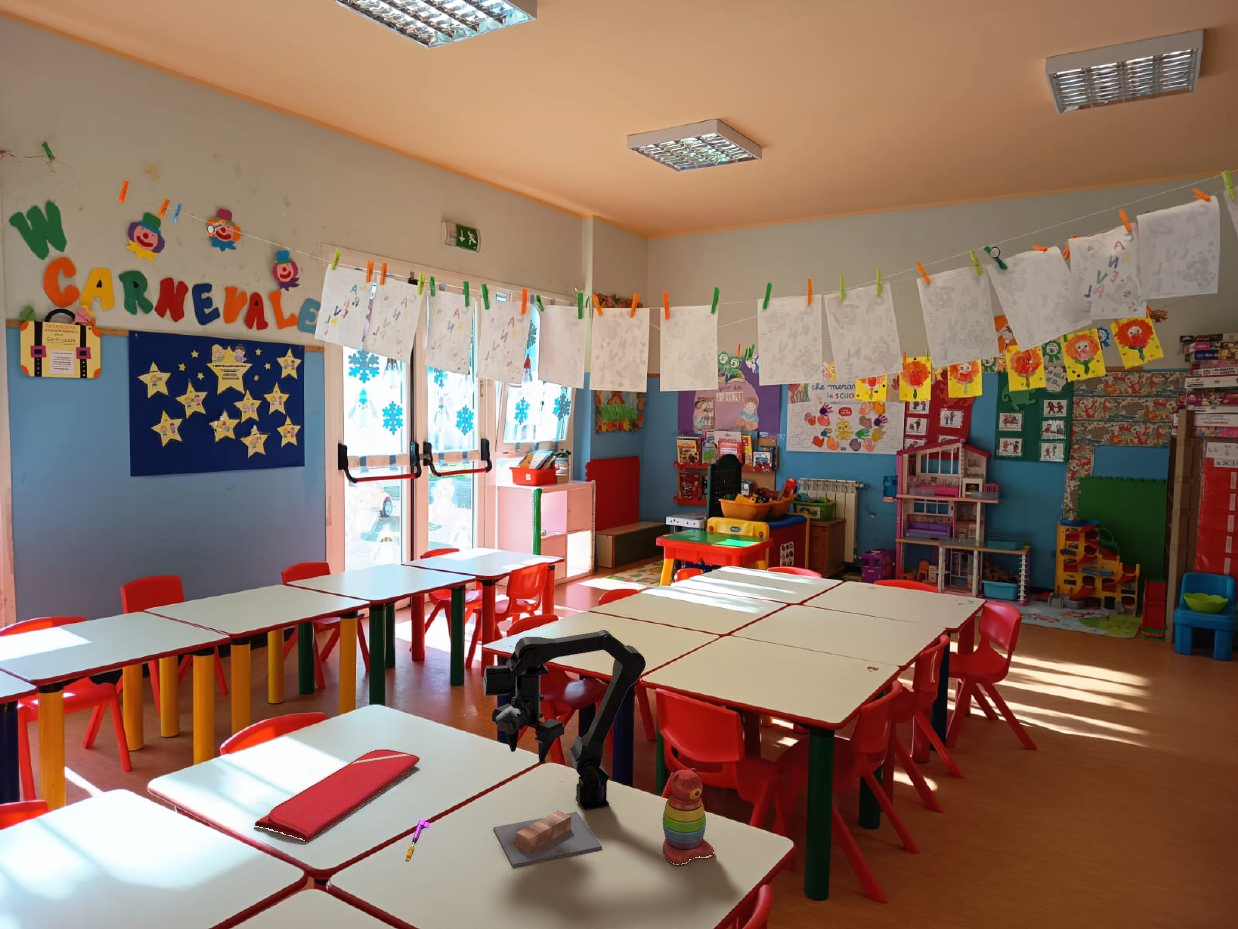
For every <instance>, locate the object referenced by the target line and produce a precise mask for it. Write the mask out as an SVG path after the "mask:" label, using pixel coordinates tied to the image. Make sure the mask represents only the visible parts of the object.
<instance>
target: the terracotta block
mask: <svg viewBox="0 0 1238 929" xmlns="http://www.w3.org/2000/svg"><path fill="white" fill-rule="evenodd" d="M542 818H543V819H541V820H539V821H537V822H535V823H533V824H532V825H530V826H528V827H526V828H524V829H522V830H520V831H518V832H516V846H518V847H520V848H521V849H523V850H525V851H527V852H531V851H533V850H535V849H536V848H538V847H540V846H542V845H543V844H545V843H547V842H549V841H551V840H552V839H554V838H556V837H558V836H559V835H561V834H563V833H565V832H566V831H568V830H570V829H571V816H569V815H567V813H564V812H563V811H560V810H556V811H555V812H552V813H550V814H548V815H547V816H545V817H542Z"/></svg>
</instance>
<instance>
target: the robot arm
mask: <svg viewBox="0 0 1238 929" xmlns="http://www.w3.org/2000/svg"><path fill="white" fill-rule="evenodd" d="M599 651H605V652H606V653H607V654H608V655H610V657H612V658H614V661H613V665H612V674H611V680H610V682H609V684H608V687H607V689H606V691H605V693H604V696H603V697H602V700H601V702H600V705H599V706H598V708H597V711H596V712H595V713H596V714H595V715H594V718H593V719H592V722H591V724H590V726H589V728H588V731H587V732H586V734H584V735H583V736H582V737H581V736H579V735H576V737H575V740H574V743H573V745H572V746H571V747H570V749H569V751H570V760H571V763H572V765H573V767H574V769H575V770H576V772H577V774H578V782H577V783H576V788H575V789H576V791H575V793H576V794H575V795H576V796H575V800H576V801H577V803H578V804H579V805H580V806H581V807H582V809H583V810H585V811H587V810H594V809H597V808H603V807H608V806H610V802H609V801H608V800H607V798H608V797H607V796H608V795H607V793H608V787H607V786H608V780H609V778H610V775H609V773H608V771H607V770H606V768H605V767H604V765H603V764H602V761H603V755H604V745H605V741H606V738H607V737H608V734H609V732H610V730H611V728H612V726H613V724H614V721H615V719H616V717H617V715H618V713H619V710H620V708H621V706H622V703H623V701H624V699H625V697H626V694H627V693H628V690H629V689H630V687H632V686H633V685H634V684H636V682H638V680H639V678H640V677H641V675H642V673H644V670H646V666H647V665H646V664H647V662H646V659H645V657H644V655H643V654H642V653H641V652H639V650H638V649H636V647H634V646H633V645H629V644H628V645H627V644H626V645H625V644H624V643H623V642H621V640H619V639H618V638H616V637H614V636H613V634H611V633H610V632H609V631H608V630H606V629H601V630H599V631H593V632H588V633H587V632H586V633H580V634H575V635H567V636H562V637H556V638H552V637H551V638H547V637H542V636H524V637H521V638H519V639H518V641H517V642H516V643H515V646H514V651H513V652H512V653H511V655H510V656H509V658H508V659H507V661H506V662H505V663H506V664H505V665H485V666H484V674H483V677H482V686H483V687H482V689H483V695H484V697H496V696H509V695H510V693H511V694H512V693H513V691H514V689H515V696H512V697H511V700H510V703H506V704H504V705H501V706H499V707H496V708H494V710H493V711H492V713H491V722H495V725H496V726H497V728H498V730H499V731H500V732H503V733H504V735H505V737H506V741H507V743H508V746H509V749H510V752H511V753H514V752H516V750H517V745H518V739H519V733H520V731H522V730H523V729H524V728H525V727H526V726H527V727H530V728H533V729H534V730H535V736H536V737H535V738H534V740H535V741H536V742H537V743H538V761H539V762H538V763H539V764H542V763H544V762H545V760H546V757H547V755H548V753H549V752H550V749H551V747H552V745H553V744H554V741H555V740H556V739H557V738H559V737H561V736H564V735H565V724H564V723H563V722H561V721H559V720H557V719H553V718H549V719H547V720H544V721H541V719H542V718H544V715H545V714H544V712H542V711H541V702H542V701H544V699H545V696H544V695H542V694H541V675H550V671H549V669H548V667H547V666H546V665H545V664H547V663H548V662H551V661H552V660H554V659H557V658H562V657H568V656H569V657H570V656H575V655H580V654H586V653H592V652H599Z"/></svg>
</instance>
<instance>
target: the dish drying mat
mask: <svg viewBox="0 0 1238 929" xmlns="http://www.w3.org/2000/svg"><path fill="white" fill-rule="evenodd" d="M420 759H421V758H420V757H419V756H417V755H415V754H412V753H407V752H404V751H398V750H395V749H389V748H388V749H387V748H386V749H381V748H380V749H374V750H371V751H369V752H366V753H364V754H363V755H361V756H358V757H357V758H356V759H355V760H353V761H351V762H349V763H348V764H346V765H344V766H343V767H341V768H339V769H338V770H336V771H334V772H332V773H331V774H329V775H327V776H325V777H324V778H322V779H321V780H319V781H317V782H316V783H314V784H312V785H311V786H309V787H307V788H305V789H304V790H302V791H300V792H299V793H297V794H295V795H293V796H292V797H290V798H288V799H286V800H285V801H282V802H281V803H279V804H277V805H276V806H274V807H273V808H272V809H271V810H270V811H269V813H268V814H266V815H264V816H262V817H261V818H259V819H258V820H256V821H255V823H254V826H259V827H263V828H269V829H273V830H274V831H278V832H283V833H284V834H286V835H292V836H294V837H297V838H302V839H303V840H305V841H307V842H308V841H310V840H311V839H313V838H314V837H315V835H316V836H318V835H319V834H320V833H322V832H323V831H325V830H326V829H328V828H329V827H331V826H332V825H333V824H335V823H337V822H338V821H340V820H342V819H343V818H345V816H347V815H349V814H350V813H352V812H353V811H355V810H356V809H357V808H358V807H361V806H362V805H363V804H364V803H367V801H369V800H370V799H372V798H373V797H374V796H377V795H378V794H379V793H380V792H382V791H383V790H384V789H386V788H387V787H388V786H390V785H391V784H393V783H394V782H395V781H397V780H398V779H400V778H401V777H402V776H403V775H405V774H406V773H408V772H409V771H410V770H412V768H414V767H415V766H416V765H417V764H418V763H419V762H420ZM312 837H313V838H312ZM309 839H310V840H309Z"/></svg>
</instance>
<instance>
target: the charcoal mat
mask: <svg viewBox="0 0 1238 929" xmlns="http://www.w3.org/2000/svg"><path fill="white" fill-rule="evenodd" d="M566 814H567V815H569V816H571V829H570V830H568V831H566V832H565V833H563V834H561V835H559V836H558V837H556V838H554V839H552V840H551V841H549V842H547V843H545V844H543V845H542V846H540V847H538V848H536V849H535V850H533V851H531V852H527V851H525V850H523V849H521V848H520V847H518V846H516V832H518V831H520V830H522V829H524V828H526V827H528V826H530V825H532V824H533V823H535V822H537V821H539V820H541V819H543V818H544V817H541V818H536V819H535V818H534V819H530V820H525V821H519V822H514V823H509V824H504V825H503V824H502V825H498V826H493V832H494V833H495V836H496V838H497V839H498V841H499V843H500V845H501V847H502V849H503V851H504V853H505V855H506V857H507V859H508V861H509V863H510V865H511V866H512V868H515V867H516V866H517V867H521V866H525V865H530V864H535V863H540V862H545V861H550V860H555V859H559V858H563V857H564V858H565V857H569V856H574V855H578V854H584V853H587V852H589V853H590V852H593V851H598V850H601V849H602V850H603V845H602V844H601V842H599V840H598V838H597V837H596V836H595V835H594V833H593V832H592V831H591V828H589V827H588V824H586V822H585V820H583V818H582V817H581V816H580V813H578V812H577V811H573V812H569V813H568V812H567V813H566ZM517 867H516V868H517Z"/></svg>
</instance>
